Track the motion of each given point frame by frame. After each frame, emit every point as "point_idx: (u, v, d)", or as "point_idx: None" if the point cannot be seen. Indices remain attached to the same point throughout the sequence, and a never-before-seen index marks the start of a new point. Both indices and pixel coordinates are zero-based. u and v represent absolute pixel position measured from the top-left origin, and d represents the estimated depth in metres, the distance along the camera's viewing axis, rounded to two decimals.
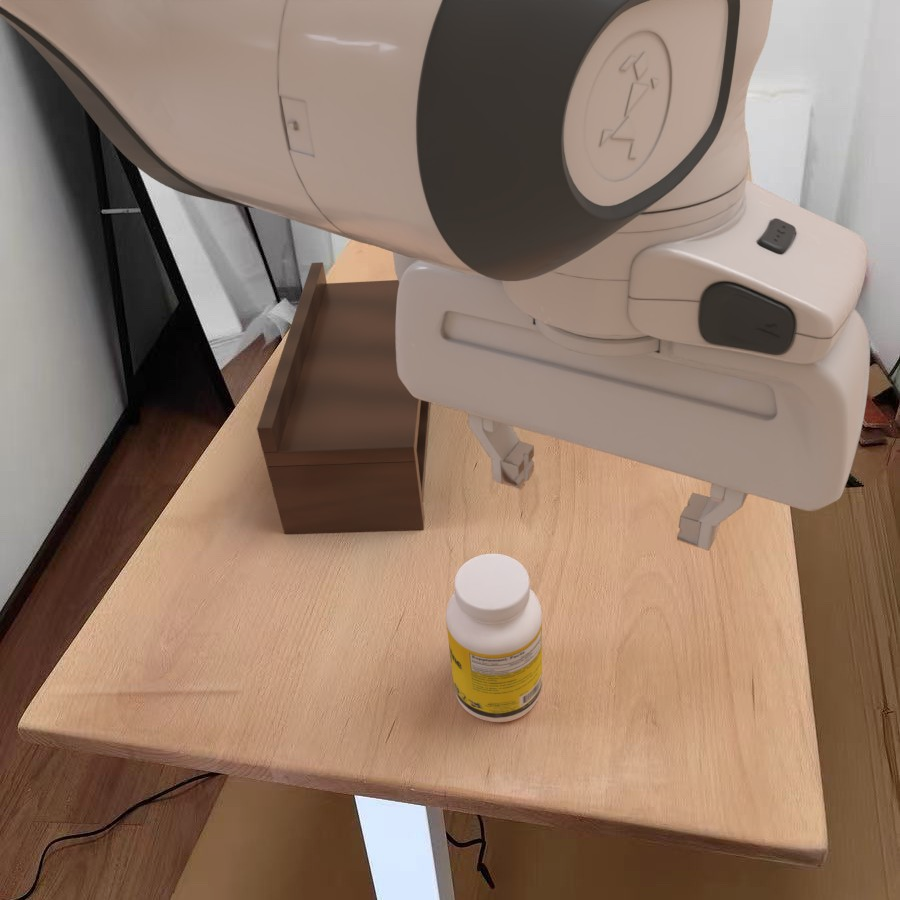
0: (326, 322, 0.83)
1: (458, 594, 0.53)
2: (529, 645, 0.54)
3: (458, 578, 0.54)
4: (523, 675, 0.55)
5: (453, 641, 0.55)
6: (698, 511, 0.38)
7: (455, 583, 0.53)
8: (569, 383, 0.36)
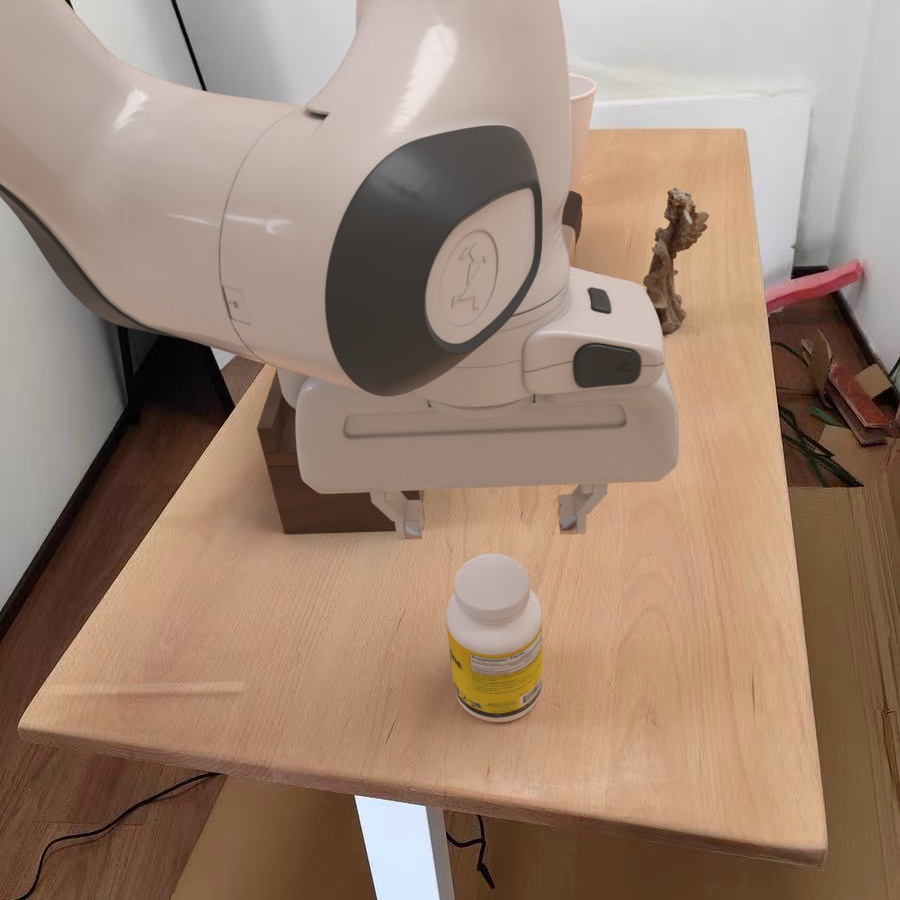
0: None
1: (458, 594, 0.53)
2: (529, 645, 0.54)
3: (458, 578, 0.54)
4: (523, 675, 0.55)
5: (453, 641, 0.55)
6: (570, 507, 0.49)
7: (455, 583, 0.53)
8: (464, 443, 0.45)
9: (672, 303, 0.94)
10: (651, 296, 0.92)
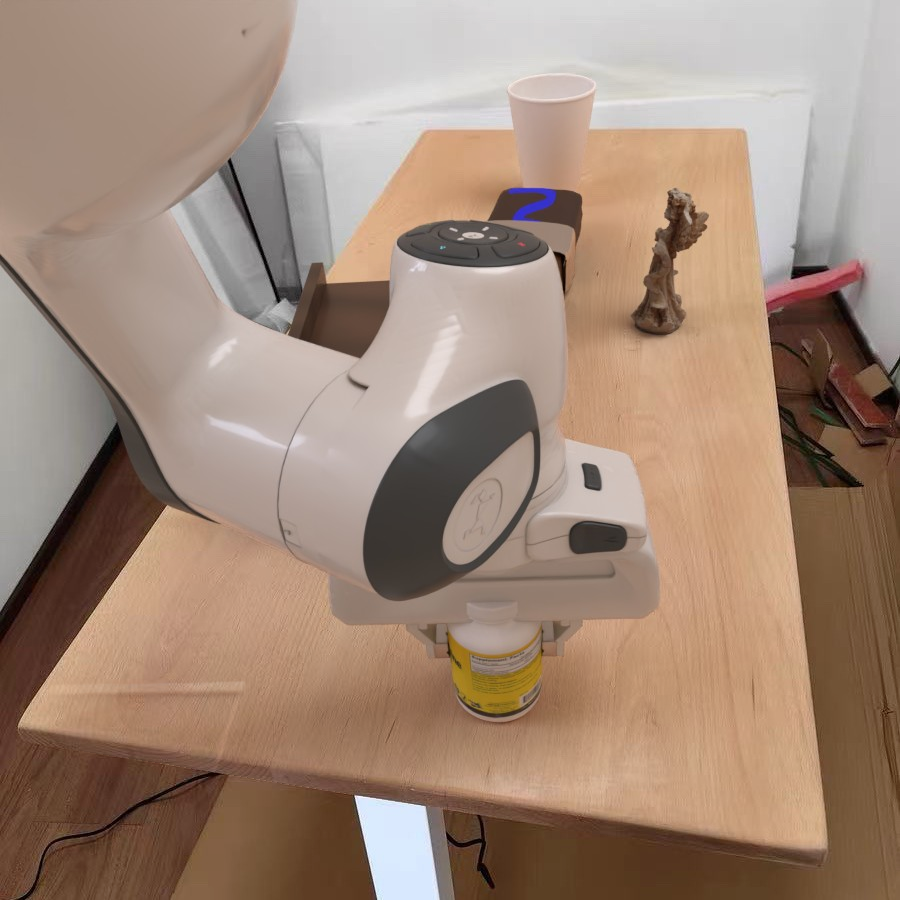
0: (326, 322, 0.83)
1: None
2: (529, 645, 0.54)
3: None
4: (523, 675, 0.55)
5: (453, 641, 0.55)
6: (551, 634, 0.56)
7: None
8: (475, 589, 0.51)
9: (672, 303, 0.94)
10: (651, 296, 0.92)
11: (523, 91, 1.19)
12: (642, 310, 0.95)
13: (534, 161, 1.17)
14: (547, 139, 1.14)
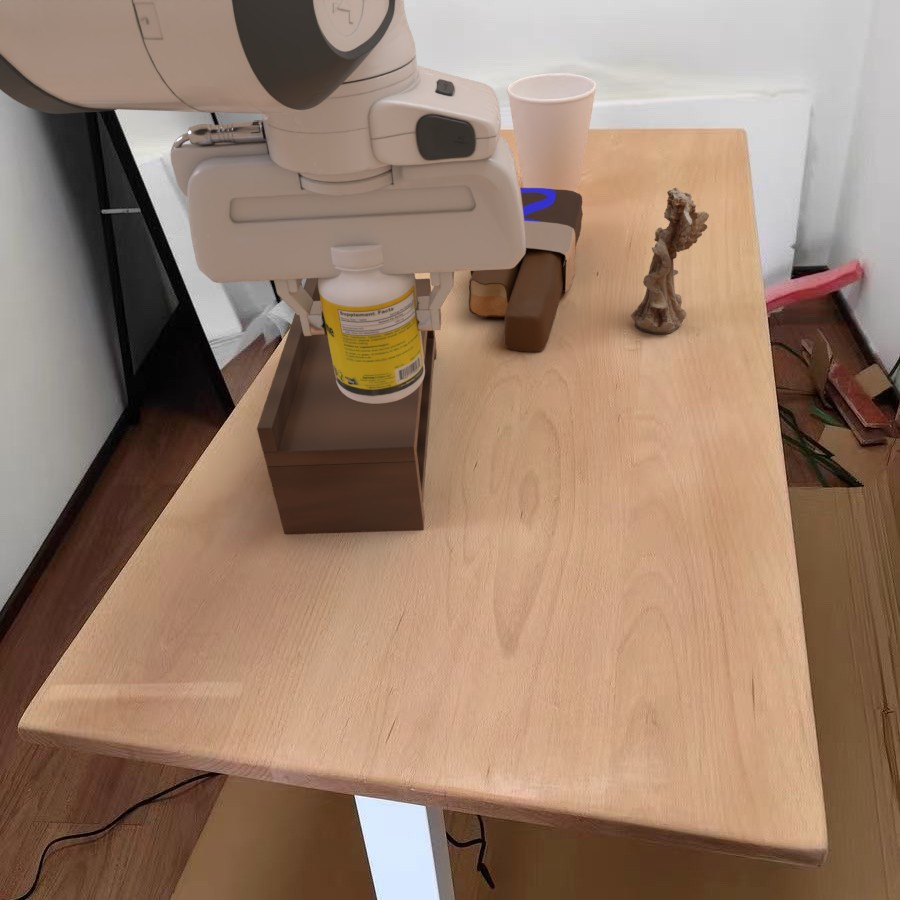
0: None
1: None
2: (398, 301, 0.53)
3: None
4: (396, 340, 0.55)
5: (323, 302, 0.54)
6: (426, 304, 0.55)
7: None
8: (336, 228, 0.51)
9: (672, 303, 0.94)
10: (651, 296, 0.92)
11: (523, 91, 1.19)
12: (642, 310, 0.95)
13: (534, 161, 1.17)
14: (547, 139, 1.14)
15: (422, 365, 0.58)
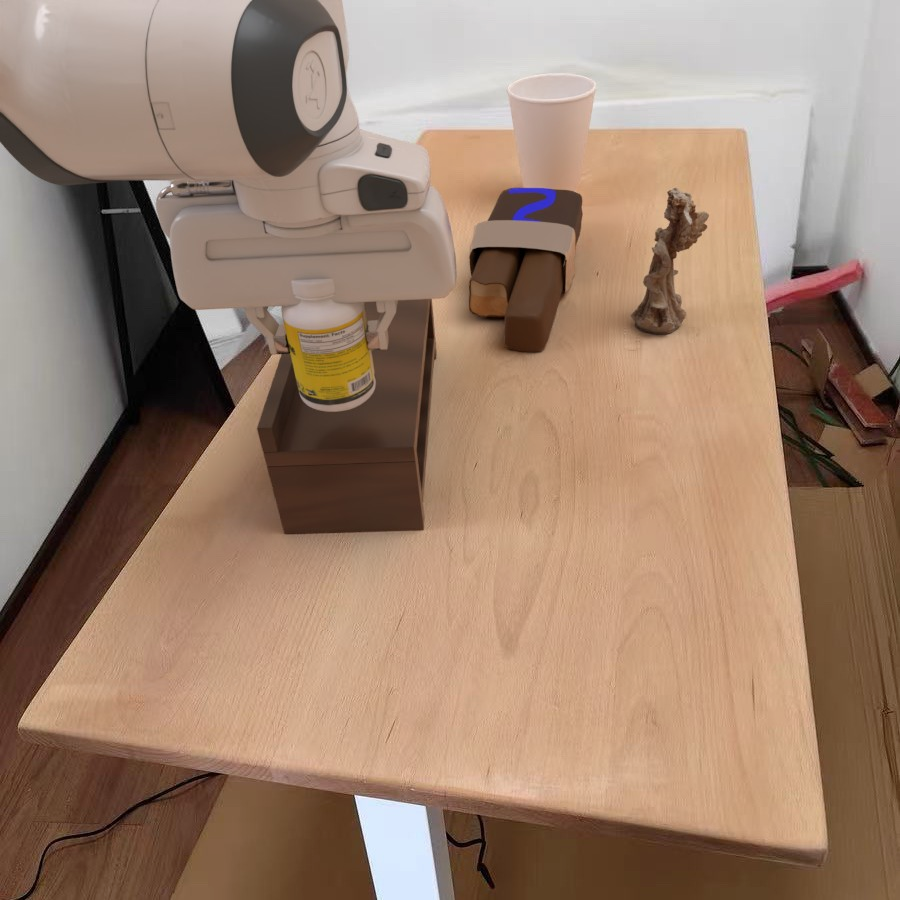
0: None
1: None
2: (349, 325, 0.63)
3: None
4: (348, 358, 0.64)
5: (286, 326, 0.64)
6: (374, 327, 0.65)
7: None
8: (295, 264, 0.60)
9: (672, 303, 0.94)
10: (651, 296, 0.92)
11: (523, 91, 1.19)
12: (642, 310, 0.95)
13: (534, 161, 1.17)
14: (547, 139, 1.14)
15: (372, 379, 0.68)
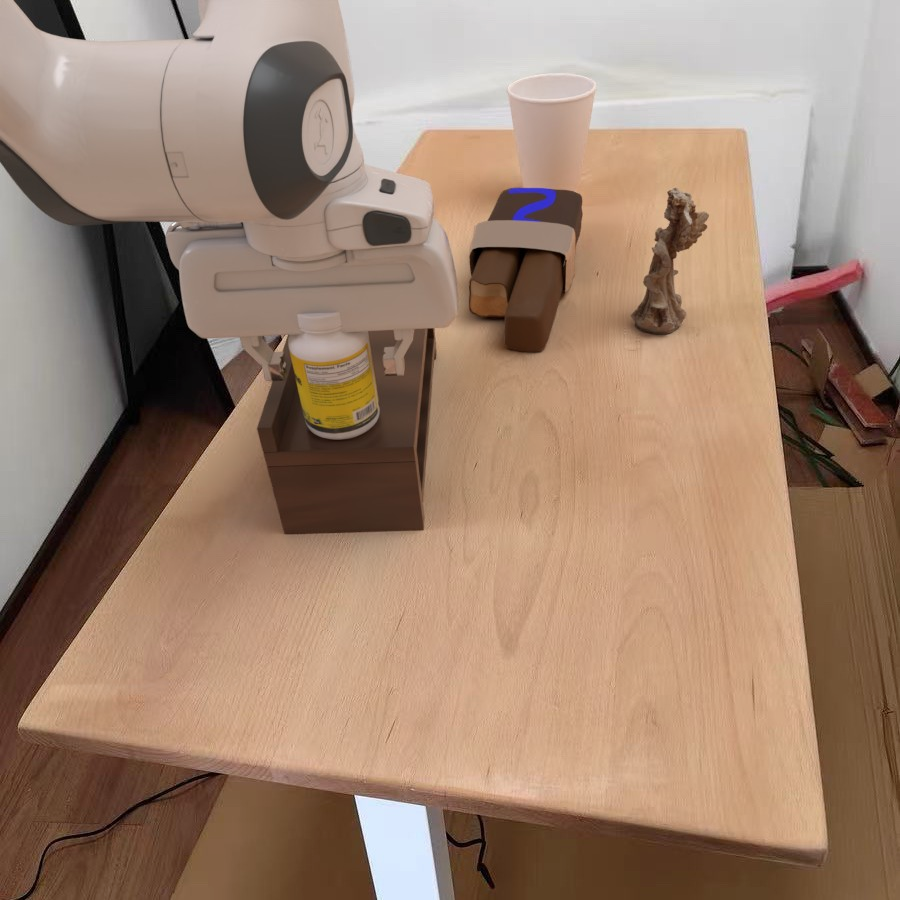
0: None
1: None
2: (354, 357, 0.64)
3: None
4: (353, 388, 0.66)
5: (292, 357, 0.65)
6: (391, 354, 0.67)
7: None
8: (302, 295, 0.62)
9: (672, 303, 0.94)
10: (651, 296, 0.92)
11: (523, 91, 1.19)
12: (642, 310, 0.95)
13: (534, 161, 1.17)
14: (547, 139, 1.14)
15: (376, 407, 0.69)
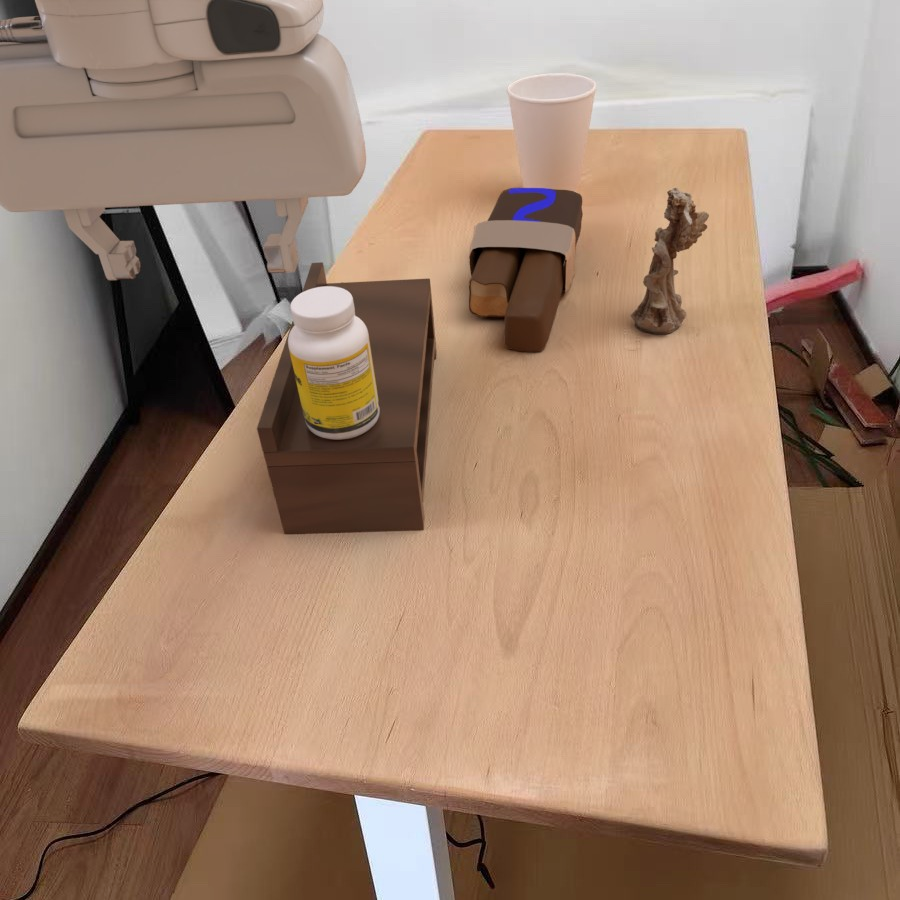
0: None
1: (291, 310, 0.63)
2: (354, 357, 0.64)
3: (294, 301, 0.64)
4: (353, 388, 0.66)
5: (292, 357, 0.65)
6: (276, 241, 0.49)
7: (291, 304, 0.64)
8: (139, 144, 0.44)
9: (672, 303, 0.94)
10: (651, 296, 0.92)
11: (523, 91, 1.19)
12: (642, 310, 0.95)
13: (534, 161, 1.17)
14: (547, 139, 1.14)
15: (376, 407, 0.69)
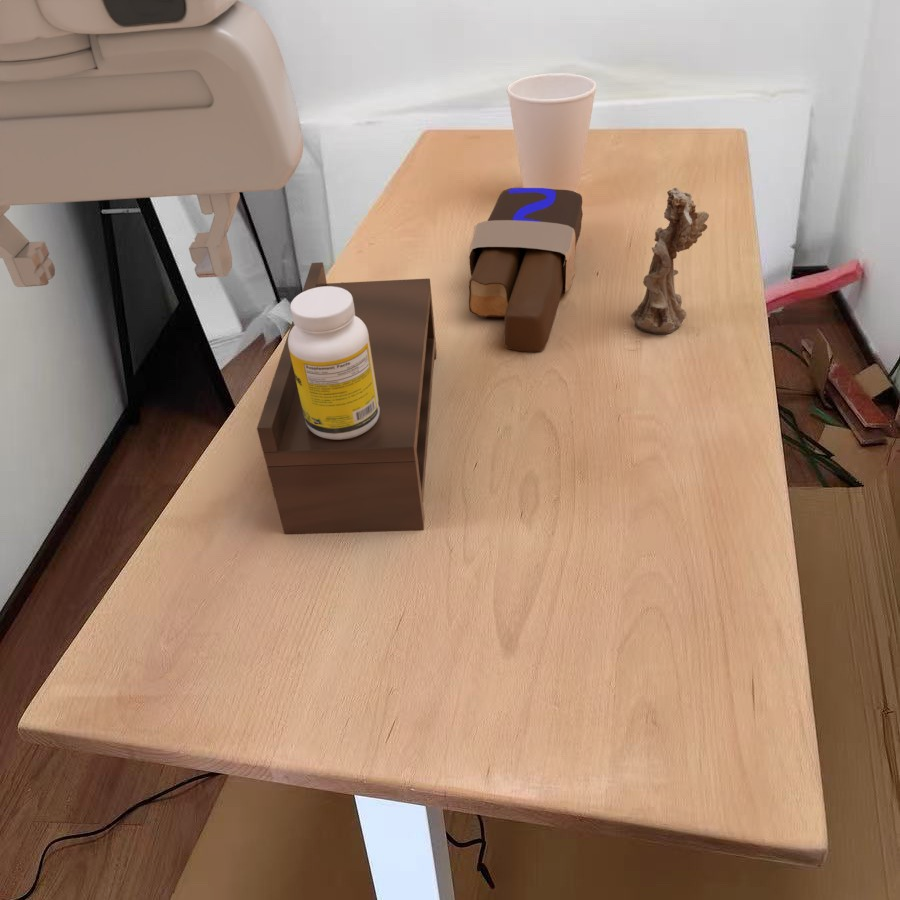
0: None
1: (291, 310, 0.63)
2: (354, 357, 0.64)
3: (294, 301, 0.64)
4: (353, 388, 0.66)
5: (292, 357, 0.65)
6: (204, 241, 0.43)
7: (291, 304, 0.64)
8: (35, 133, 0.38)
9: (672, 303, 0.94)
10: (651, 296, 0.92)
11: (523, 91, 1.19)
12: (642, 310, 0.95)
13: (534, 161, 1.17)
14: (547, 139, 1.14)
15: (376, 407, 0.69)
